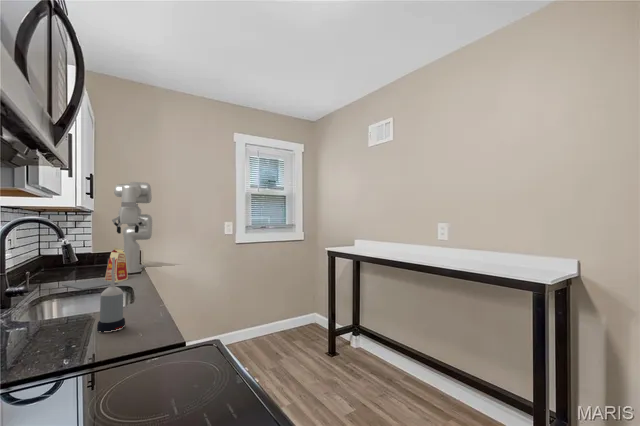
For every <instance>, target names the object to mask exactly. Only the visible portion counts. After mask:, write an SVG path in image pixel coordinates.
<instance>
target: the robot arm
mask: <svg viewBox="0 0 640 426" xmlns="http://www.w3.org/2000/svg"><path fill="white" fill-rule="evenodd" d="M113 194H114V195H115V197H118V198H121V199H120V201H121V202H120V203H121V206H120V207H119V209H118V214H117V216H116V217H115V218H112V219H111V221H112V223H113V225H115V226H116V232H117V234H122V236H123V252H124V253H125V255H126V261H127V270H128V274H131V273H133V274H134V273H140V272H142V271H143V269H142V268H147V265H146V264H140V261H141V260H140V257H141V253H140V252H141V246H140V243H139V242H138V241H143V240H146V241H147V240H150V239H151V238H152V234H153V217H152V215H150V214H148V213H147V214H146V213H145V214H144V213H142V209H141V207H139V204H150V203H151V202H152V187H151V185H150V183H148V182H144V181H143V182H141V181H131V182H129V183H128V182H127V183H126V182H125V183H117V184H116V185H115V186H114V188H113ZM122 225H127V226H126V227H124V228H123V230H122V227H121V226H122Z"/></svg>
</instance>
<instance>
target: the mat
mask: <svg viewBox="0 0 640 426" xmlns="http://www.w3.org/2000/svg"><path fill="white" fill-rule="evenodd" d="M111 282H112V281H108V286H110V285H111ZM118 283H119V282H114V285H117V284H118ZM62 286H63V287H66V288H72V289H77V290H81V291H85V290H91V289H95V288H101V287H105V286H106V287H108V286H107V281H106V280H105V279H99V278H95V279H89V280H84V281H83V280H82V281H76V282H70V283H64V284H62Z"/></svg>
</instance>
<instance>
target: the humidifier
mask: <svg viewBox="0 0 640 426" xmlns="http://www.w3.org/2000/svg"><path fill="white" fill-rule="evenodd" d="M114 270H115V257H113V261H112V270H111V275H112V282H111V285H108V276H107V286H106V287H107V288H105V289H104V290H103V291H102V292H101V294H100V303H99V305H100V306H99V320H98V322H97V325H96V326H97V327H96V328H97V329H96V331H101V332H104V331H111V330H116V329H119V328H122V327H123V326H124V325H125V326H126V319H125V317H124V291H123V289H121V288H120V287H117V286H116V285H115V284H114V282H115V274H114ZM107 273H108V272H107Z"/></svg>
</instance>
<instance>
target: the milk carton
mask: <svg viewBox="0 0 640 426" xmlns="http://www.w3.org/2000/svg"><path fill="white" fill-rule="evenodd" d="M110 252H111V253H110V255H109V257H108V261H107V267H106V272H105V276H104V280H106V281H107V276H108V281H112V275H111V270H112V261H113V257H115V270H114V274H115V282H117V283H119V282H123V281H124V282H125V281H127V280H129V275H128V274H129V273H128V270H127V261H126V255H125V253H124V248H117V247H113V250H112V251H110ZM107 272H108V273H107Z"/></svg>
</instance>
